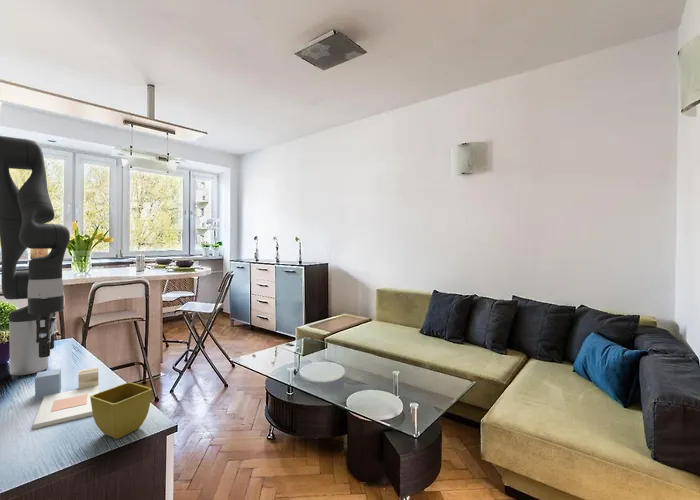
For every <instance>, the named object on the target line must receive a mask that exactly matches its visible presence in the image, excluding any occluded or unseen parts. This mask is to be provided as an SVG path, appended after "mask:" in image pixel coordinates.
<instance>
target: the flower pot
mask: <svg viewBox="0 0 700 500" xmlns="http://www.w3.org/2000/svg"><path fill="white" fill-rule="evenodd" d="M152 392H153V388H151V387H148V386H144V385H141V384H137V383H134V382H130V381H129V382H125V383H122V384H120V385H117V386H114V387H111V388H108V389H105V390H102V391H101V392H100V391H99V393H97V394H94V395H92V396H90V399H91V406H92V412H93V415H92V416H93V421H94V422H95V425H96V426H97V428H98V429H99V430H100V431H101V433H103V434H104V435H106V436H108V437H111V438H112V439H113V438H114V439H116V440H117V439H120V438H123V437H125V436H126V435H129V434H131V433H133V432H134V431H137V430H138V429H140V428H141V426H142V425H143V423H144V422H145V421H146V419H147V416H148V413H149V411H150V405H151V400H152V399H151V398H152Z"/></svg>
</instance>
